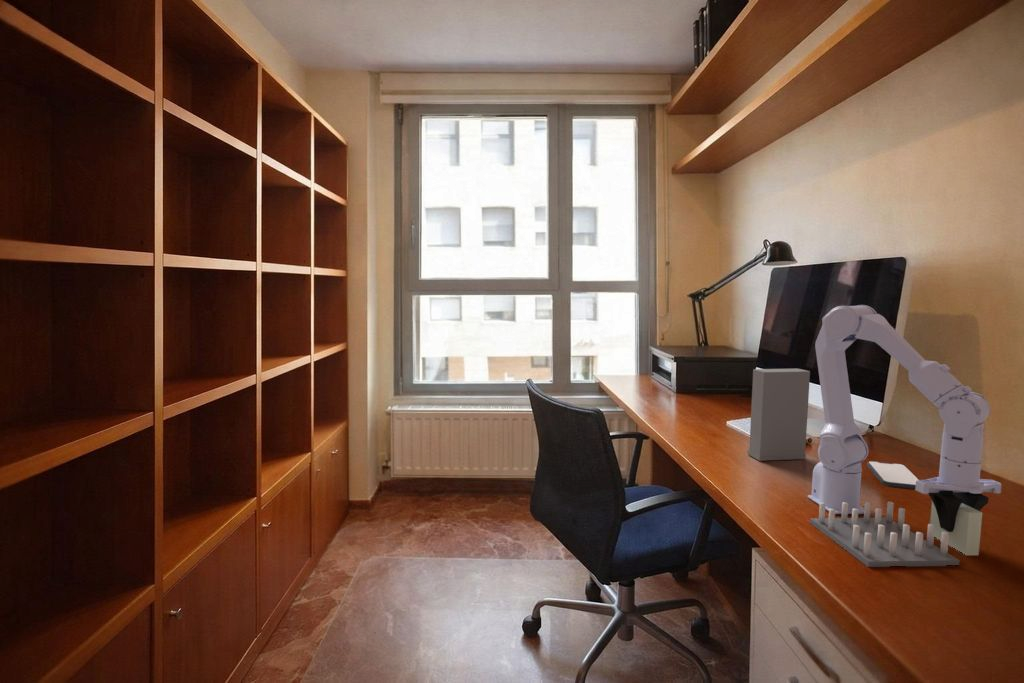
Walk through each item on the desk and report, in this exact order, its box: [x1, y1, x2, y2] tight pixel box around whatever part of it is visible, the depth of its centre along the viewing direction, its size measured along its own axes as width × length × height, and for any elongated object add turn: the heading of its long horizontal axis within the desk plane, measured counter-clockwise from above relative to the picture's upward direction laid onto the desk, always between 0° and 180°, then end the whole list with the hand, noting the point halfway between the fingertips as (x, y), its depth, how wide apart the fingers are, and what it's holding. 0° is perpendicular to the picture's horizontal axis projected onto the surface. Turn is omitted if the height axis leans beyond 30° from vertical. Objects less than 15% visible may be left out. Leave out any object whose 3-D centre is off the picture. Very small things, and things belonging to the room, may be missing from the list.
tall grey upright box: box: [746, 368, 811, 462], centre depth 148 cm, size 14×6×25 cm, turn 97°
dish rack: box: [809, 501, 960, 568], centre depth 99 cm, size 17×16×5 cm
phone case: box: [866, 461, 920, 490], centre depth 134 cm, size 9×2×16 cm
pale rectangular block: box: [929, 500, 983, 556], centre depth 98 cm, size 8×2×8 cm, turn 1°
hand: (954, 529), depth 98 cm, fingers closed on pale rectangular block, 2 cm apart
